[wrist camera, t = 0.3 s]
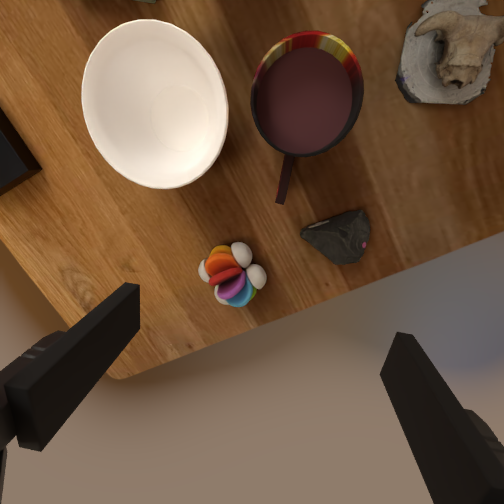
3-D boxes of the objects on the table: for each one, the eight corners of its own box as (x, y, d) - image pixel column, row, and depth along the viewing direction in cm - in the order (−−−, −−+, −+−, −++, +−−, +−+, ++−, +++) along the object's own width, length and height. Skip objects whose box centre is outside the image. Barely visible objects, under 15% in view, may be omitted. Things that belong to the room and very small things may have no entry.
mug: (277, 193, 39) (275, 211, 27) (252, 85, 34) (236, 54, 23) (348, 175, 37) (376, 187, 26) (330, 58, 32) (355, 11, 21)
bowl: (204, 20, 33) (178, -21, 25) (260, 150, 37) (254, 150, 29) (101, 89, 36) (50, 73, 29) (163, 199, 41) (134, 211, 33)
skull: (410, 0, 30) (427, -28, 25) (533, -5, 28) (580, -38, 23) (388, 103, 34) (399, 97, 29) (493, 106, 32) (526, 100, 27)
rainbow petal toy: (240, 230, 41) (232, 245, 34) (273, 281, 43) (271, 305, 37) (196, 256, 43) (179, 275, 37) (229, 303, 46) (220, 329, 39)
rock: (315, 268, 42) (319, 283, 37) (297, 229, 40) (299, 239, 35) (375, 245, 40) (387, 258, 35) (359, 202, 38) (370, 210, 33)
